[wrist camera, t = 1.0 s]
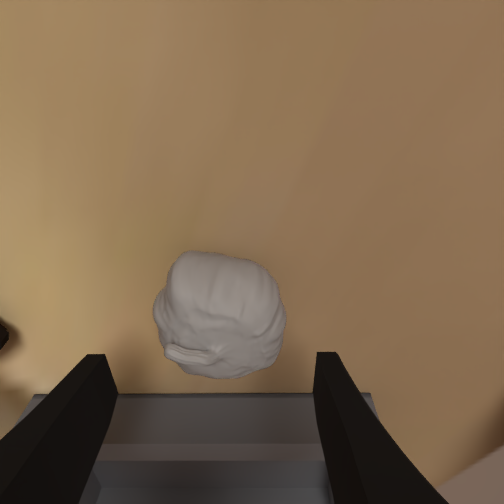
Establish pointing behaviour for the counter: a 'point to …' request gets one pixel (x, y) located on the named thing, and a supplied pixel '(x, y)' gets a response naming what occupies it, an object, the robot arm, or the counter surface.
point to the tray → (210, 450)
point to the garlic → (219, 315)
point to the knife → (3, 336)
